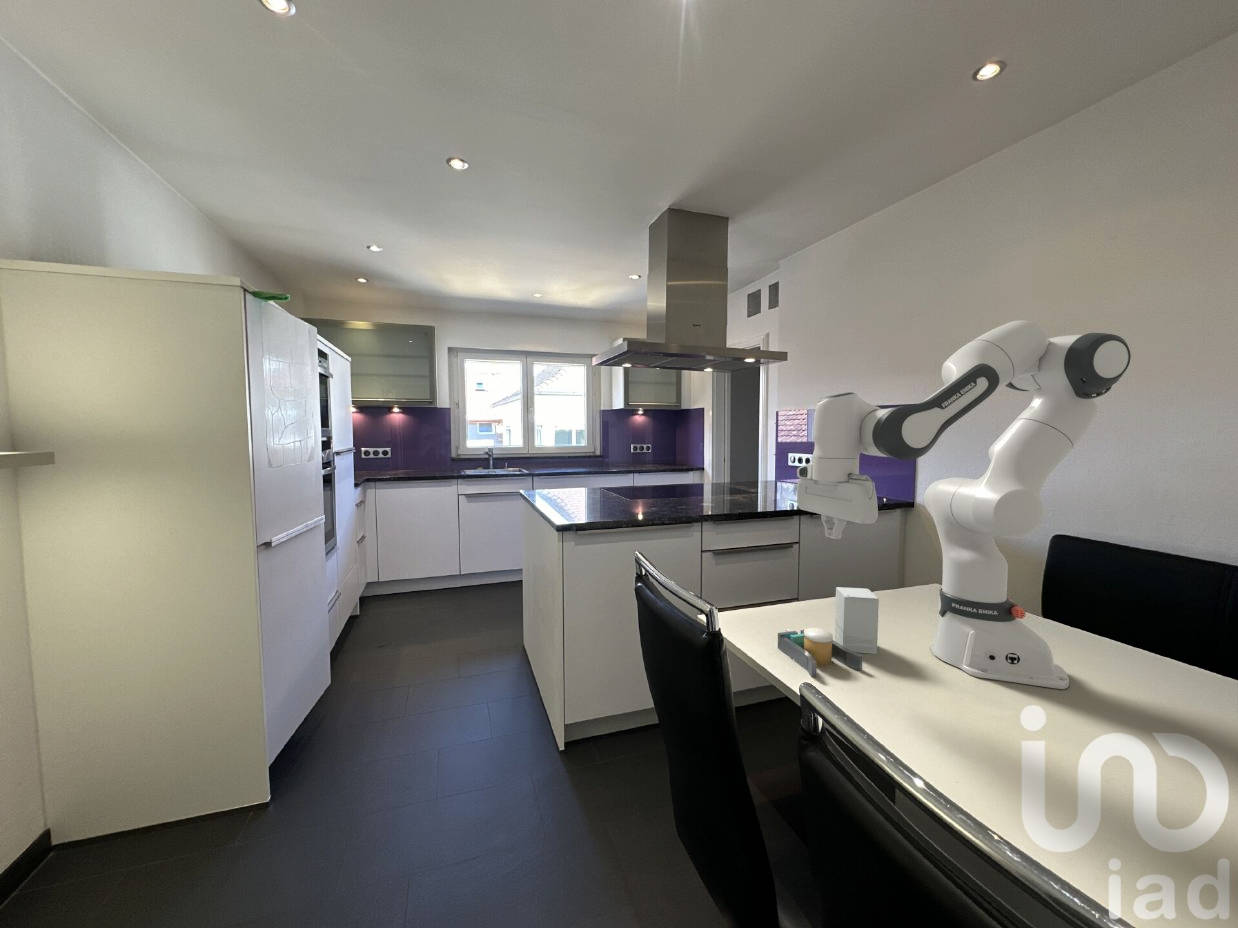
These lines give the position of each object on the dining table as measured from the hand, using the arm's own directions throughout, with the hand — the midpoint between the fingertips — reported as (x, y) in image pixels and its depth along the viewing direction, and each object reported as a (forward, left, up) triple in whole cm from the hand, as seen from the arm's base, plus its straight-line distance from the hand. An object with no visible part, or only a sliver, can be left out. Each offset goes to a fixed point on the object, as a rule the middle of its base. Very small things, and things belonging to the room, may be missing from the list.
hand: (833, 537), depth 97 cm
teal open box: (+8, -6, -27) cm, 28 cm away
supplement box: (-4, -12, -27) cm, 30 cm away
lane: (+3, -1, -27) cm, 27 cm away
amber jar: (+2, 0, -27) cm, 27 cm away
